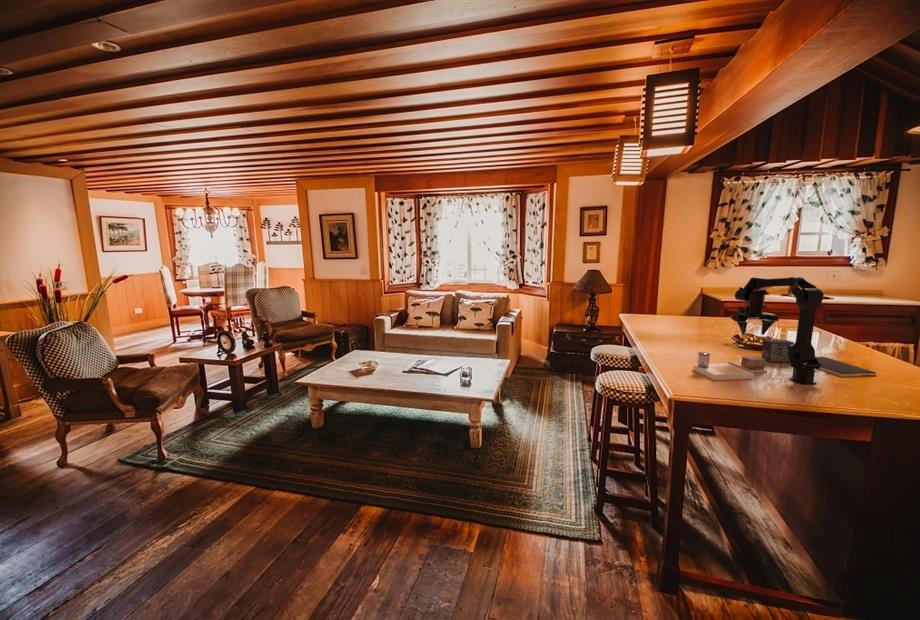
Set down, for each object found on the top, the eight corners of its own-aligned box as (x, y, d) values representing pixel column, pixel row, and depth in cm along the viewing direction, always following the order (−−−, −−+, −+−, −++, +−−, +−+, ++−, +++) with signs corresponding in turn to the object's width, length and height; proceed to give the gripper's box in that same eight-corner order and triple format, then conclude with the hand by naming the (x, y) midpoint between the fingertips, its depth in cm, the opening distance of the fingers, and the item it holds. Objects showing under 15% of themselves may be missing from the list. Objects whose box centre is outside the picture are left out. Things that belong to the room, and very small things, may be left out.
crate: (766, 372, 176) (768, 359, 175) (748, 373, 176) (749, 360, 175) (755, 368, 182) (757, 355, 181) (737, 369, 182) (739, 356, 181)
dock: (754, 378, 169) (755, 371, 168) (714, 380, 168) (715, 373, 167) (730, 368, 182) (730, 362, 182) (693, 369, 181) (693, 363, 181)
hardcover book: (840, 378, 169) (841, 373, 169) (793, 362, 192) (794, 357, 191) (875, 376, 170) (876, 371, 169) (824, 361, 192) (825, 356, 192)
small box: (782, 359, 195) (785, 339, 193) (792, 363, 189) (795, 342, 187) (760, 358, 196) (762, 338, 194) (769, 362, 190) (771, 342, 188)
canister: (711, 367, 176) (712, 354, 175) (701, 368, 176) (702, 354, 175) (704, 364, 180) (705, 351, 179) (694, 365, 180) (696, 352, 179)
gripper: (764, 300, 193) (760, 330, 196) (725, 301, 194) (722, 331, 196) (781, 303, 182) (777, 336, 185) (740, 304, 183) (737, 336, 185)
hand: (752, 334), depth 188 cm, fingers open, 9 cm apart
